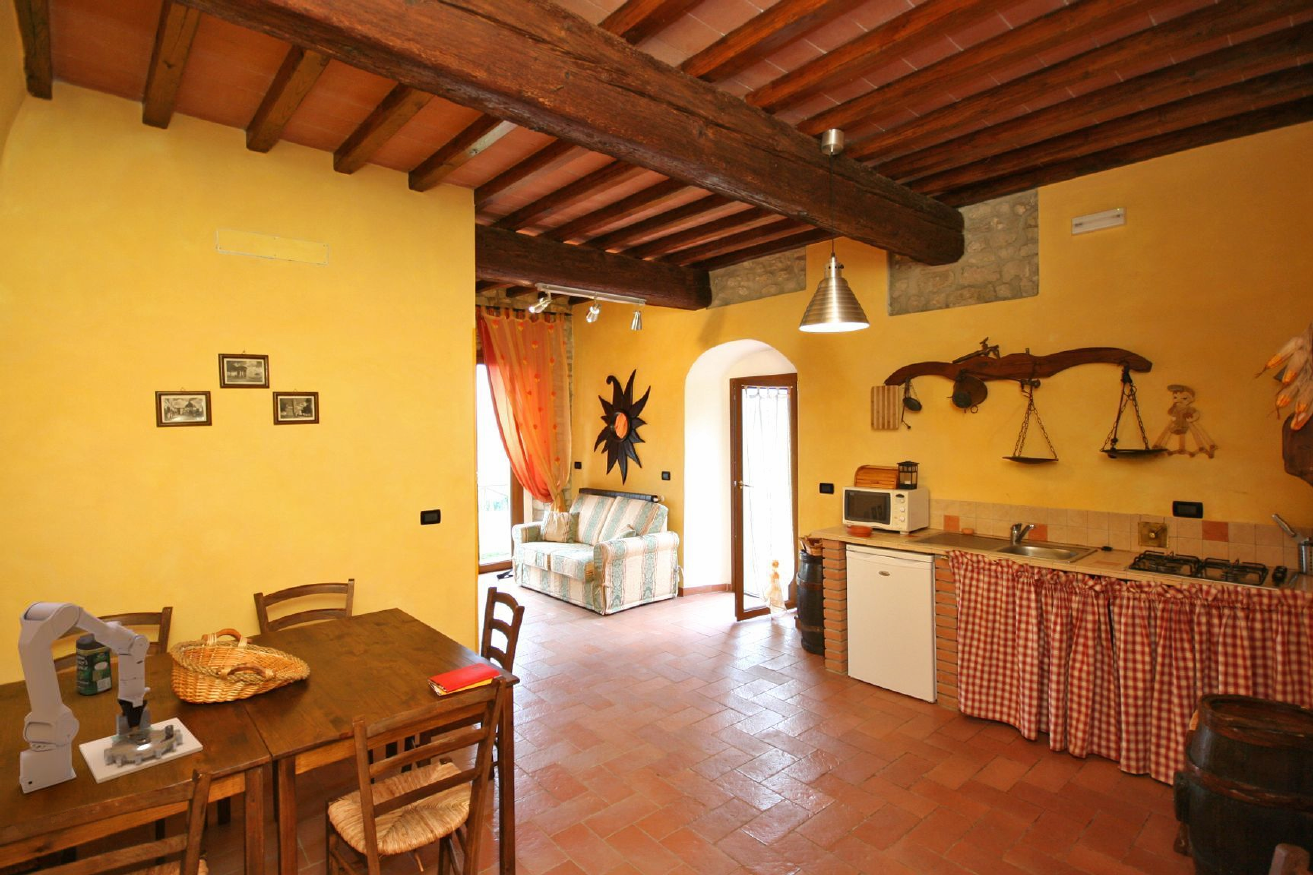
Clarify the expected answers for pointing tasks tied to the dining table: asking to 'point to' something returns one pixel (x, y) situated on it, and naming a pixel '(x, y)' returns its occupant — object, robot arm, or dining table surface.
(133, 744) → the sprocket
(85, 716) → the dining table surface
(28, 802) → the dining table surface
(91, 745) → the sprocket base
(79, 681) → the coffee jar
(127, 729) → the link block
